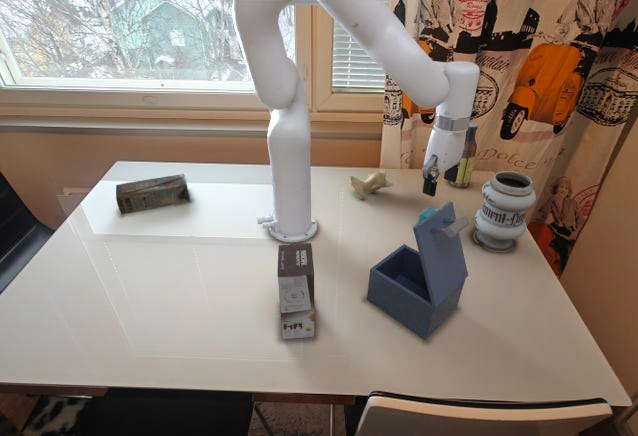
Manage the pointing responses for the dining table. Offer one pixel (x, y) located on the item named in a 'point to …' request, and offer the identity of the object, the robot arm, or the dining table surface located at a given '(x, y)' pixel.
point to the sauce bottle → (467, 158)
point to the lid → (441, 251)
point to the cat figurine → (369, 183)
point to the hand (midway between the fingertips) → (439, 187)
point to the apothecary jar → (503, 210)
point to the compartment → (408, 292)
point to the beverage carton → (152, 193)
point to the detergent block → (426, 214)
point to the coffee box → (296, 290)
